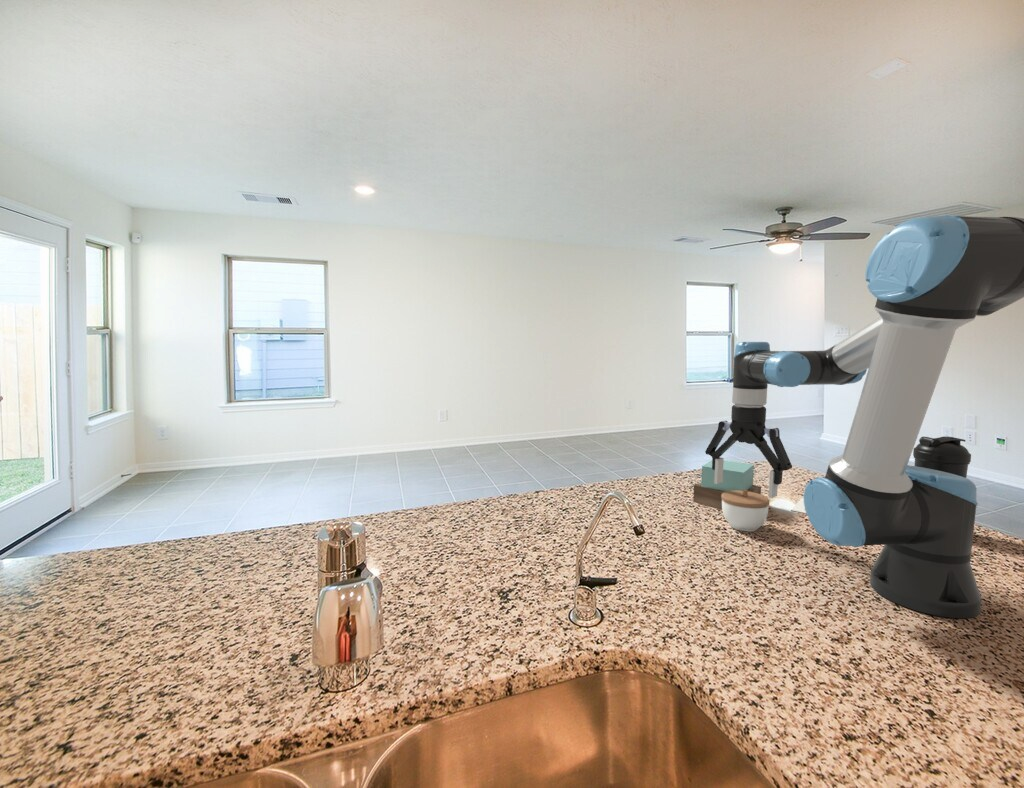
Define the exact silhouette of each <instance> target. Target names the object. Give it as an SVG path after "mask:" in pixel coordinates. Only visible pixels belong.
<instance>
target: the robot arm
mask: <svg viewBox="0 0 1024 788" xmlns="http://www.w3.org/2000/svg"><path fill="white" fill-rule="evenodd" d="M865 281H866V282H868V284H867V286H866V287H867V288H868V291H869V292H870V293H871V295H873V297H875V298H877V299H876V300H875V306H874V310H875V311H876V312H877V313H878V315H879V316H880V317H878V318H877V319H875V320H873V321H872V322H870V323H869V324H867V325H865V326H864V327H862V328H860V329H859V330H857V331H856V332H854V333H853V334H851V335H849V336H848V337H846V338H845V339H843V340H841V341H839V342H838V343H836V344H834V345H833V346H831V347H830V348H827V349H826V350H825V349H824V350H771V345H770V343H769V342H768V341H739V342H737V343H735V348H734V356H733V373H732V374H733V378H732V379H733V380H732V383H733V385H732V394H731V395H732V397H731V402H732V404H733V405H732V406H731V417H730V419H731V422H729V421H728V420H721V421H719V422H718V424H717V425H718V427H717V429H716V432H715V433H714V435H713V437H712V439H711V440H710V442H709V444H708V446H707V447H706V449H705V454H706V455H709V456H710V457H711V458H712V459H711V460H712V469H713V470H715V478H714V484H719V483H722V482H723V461H724V460H725V459H724V457H722V455H724V453H726V452H727V451H728V450H729V448H731V447H732V446H733V445H734V444H735V443H737V442H738V443H746V444H748V445H753V444H754V445H755V447H756V448H758V449H759V451H760V452H761V454H762V455H763V457H764V458H765V459H766V461H767V462H768V463H769V465H770V467H771V468H772V469H771V470H769V481H768V482H769V486H768V499H769V498H770V499H774V498H775V497H777V496H778V486H779V485H782V482H783V475H784V473H783V472H784V471H789V470H790V469H792V468H793V464H792V463H791V461H790V458H789V456H788V453H787V451H786V448H785V446H784V445H783V441H782V439H781V438H780V434H781V433H780V429H779V428H778V427H774V428H767V427H766V419H767V418H766V417H767V408H766V406H765V405H767V398H768V385H772V386H777V387H778V388H779V387H780V388H783V387H785V388H795V387H798V386H806V385H807V386H808V385H809V386H811V385H812V386H813V385H815V386H817V385H822V386H823V385H826V386H827V385H834V386H835V385H836V386H843V385H850V384H855V383H857V382H859V381H861V380H862V379H863V377H864V376H865V375H866V377H865V380H864V384H863V387H862V389H861V392H860V397H859V399H858V403H857V406H856V410H855V414H854V416H853V420H852V423H851V426H850V428H849V434H848V437H847V439H846V442H845V447H844V448H843V449H844V450H843V452H842V455H838V456H836V457H833V458H832V459H830V460H829V463H828V466H827V469H826V472H825V476H824V477H823V476H822V477H821V476H818V477H816V478H813V480H812V479H811V480H809V482H808V483H807V484H806V486H805V487H804V491H803V498H804V506H805V510H806V515H807V517H808V521H809V523H810V524H811V526H812V527H813V529H814V530H815V532H816V533H817V534H818V535H819V536H820V537H821V538H823V540H824V541H826V542H828V543H830V544H832V545H835V546H838V547H854V548H860V547H863V546H878V545H879V546H881V545H883V547H882V549H881V550H880V553H879V555H878V556H877V559H875V562H874V563H873V566H872V567H871V569H870V576H869V584H870V586H871V588H872V589H873V590H874V591H875V592H876V593H877V594H878V595H880V596H882V597H884V599H886V600H889V601H891V602H893V603H894V604H897V605H900V606H901V607H905V608H908V609H910V610H912V611H913V610H914V611H917V612H919V613H923V614H928V615H931V616H935V617H936V616H937V617H943V618H950V619H969V618H974V617H976V616H978V615H979V614H980V613H981V607H982V596H981V593H980V590H979V587H978V584H977V580H976V577H975V575H974V572H973V569H972V566H971V560H972V559H971V558H972V550H973V539H974V531H975V521H976V511H977V506H978V504H979V503H978V502H977V487H976V485H975V483H974V482H973V481H972V480H970V479H969V478H968V477H966V478H964V477H962V476H958V475H955V474H951V473H947V472H943V471H938V470H933V469H928V468H923V467H917V466H915V465H909V462H910V459H911V456H912V454H913V451H914V448H915V445H916V442H917V439H918V437H919V436H918V435H919V434H920V431H921V428H922V425H923V422H924V420H925V417H926V414H927V411H928V409H929V406H930V403H931V401H932V397H933V396H934V395H933V394H934V392H935V388H936V386H937V383H938V380H939V378H940V376H941V372H942V370H943V368H944V367H943V366H944V364H945V361H946V358H947V355H948V353H949V351H950V350H949V349H950V347H951V345H952V342H953V339H954V337H955V333H956V331H957V330H958V329H959V328H961V327H962V326H964V325H966V324H969V323H970V322H972V321H975V319H976V317H985V316H989V315H991V314H994V313H997V311H1000V310H1002V309H1004V308H1006V307H1008V306H1010V305H1012V304H1014V303H1016V302H1018V301H1019V300H1021V299H1024V218H1023V217H1016V216H969V215H968V216H966V215H965V216H963V215H948V214H944V215H934V216H922V217H915V218H911V219H909V220H906V221H904V222H900V224H898V225H896V226H895V227H894V228H893V229H892V230H890V231H889V232H886V233H885V234H884V236H883V237H882V238H881V239H880V240H879V241H878V243H877V244H876V245H875V247H874V248H873V250H872V252H871V253H870V255H869V258H868V260H867V263H866V268H865ZM729 429H730V431H731V432H732V433H731V435H730V436H729V437H727V439H726V440H725V441H724V442H723V443H722V444H721V445H720V443H721V442H722V440H723V438H724V436H725V434H726V433H727V431H729ZM765 435H766V437H768V438H769V441H770V443H771V446H772V448H773V450H774V451H773V450H772V448H771V447H770V445H769V444H768V442H767V440H766V439H765V437H764V436H765ZM719 445H720V446H719Z"/></svg>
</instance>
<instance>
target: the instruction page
mask: <svg viewBox="0 0 1024 788" xmlns="http://www.w3.org/2000/svg"><path fill="white" fill-rule="evenodd" d="M790 511H792V512H795V513H800V514H801V513H802V514H806V510H805V506H804V497H801V498H800V500H798V502H797V503H795V505H794V506H793V507H792V508H791V509H790ZM806 515H807V514H806Z"/></svg>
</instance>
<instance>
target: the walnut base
mask: <svg viewBox="0 0 1024 788" xmlns="http://www.w3.org/2000/svg"><path fill="white" fill-rule="evenodd" d="M747 491H748V492H754V493H758V494H761V495H762V486H760V485H755V484H753V485H752V486H751V487H750V488H749V489H748V490H747ZM723 492H726V491H722V490H716V489H711V488H705V487H701V482H697V483H695V484H693V496H692V497H693V498H692V499H693V500H692V502H694V503H697V504H700V505H705V506H708V507H710V508H715V509H718V510H722V498H721V495H722V493H723Z"/></svg>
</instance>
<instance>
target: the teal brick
mask: <svg viewBox="0 0 1024 788" xmlns="http://www.w3.org/2000/svg"><path fill="white" fill-rule="evenodd" d="M754 469H755V464H751V463H745V462H738V461H732V460H725V459H724V461H723V482H722V483H719V484H714V478H715V470H713V469H712V459H711V460H709V461H708V462H706V463H705V464H703V465H702V466H701V480H700V481H701V482H700V483H701V487H705V488H711V489H716V490H722V491H735V490H738V491H743V490H748V489H749V488H750V487H751V486H752V485H754V474H755V473H754V471H755V470H754Z"/></svg>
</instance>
